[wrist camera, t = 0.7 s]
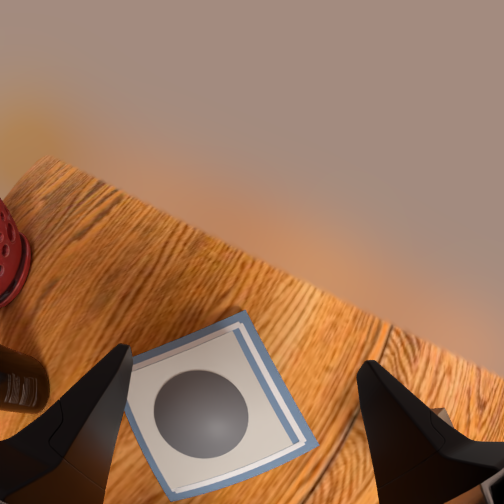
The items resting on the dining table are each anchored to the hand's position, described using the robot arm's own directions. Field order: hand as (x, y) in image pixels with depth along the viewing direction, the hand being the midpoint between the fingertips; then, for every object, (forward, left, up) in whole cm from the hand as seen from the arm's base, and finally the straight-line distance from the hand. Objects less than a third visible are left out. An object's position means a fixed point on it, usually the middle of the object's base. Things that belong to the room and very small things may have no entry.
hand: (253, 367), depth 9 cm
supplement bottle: (+7, +24, -15) cm, 29 cm away
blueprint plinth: (-1, +5, -15) cm, 15 cm away
